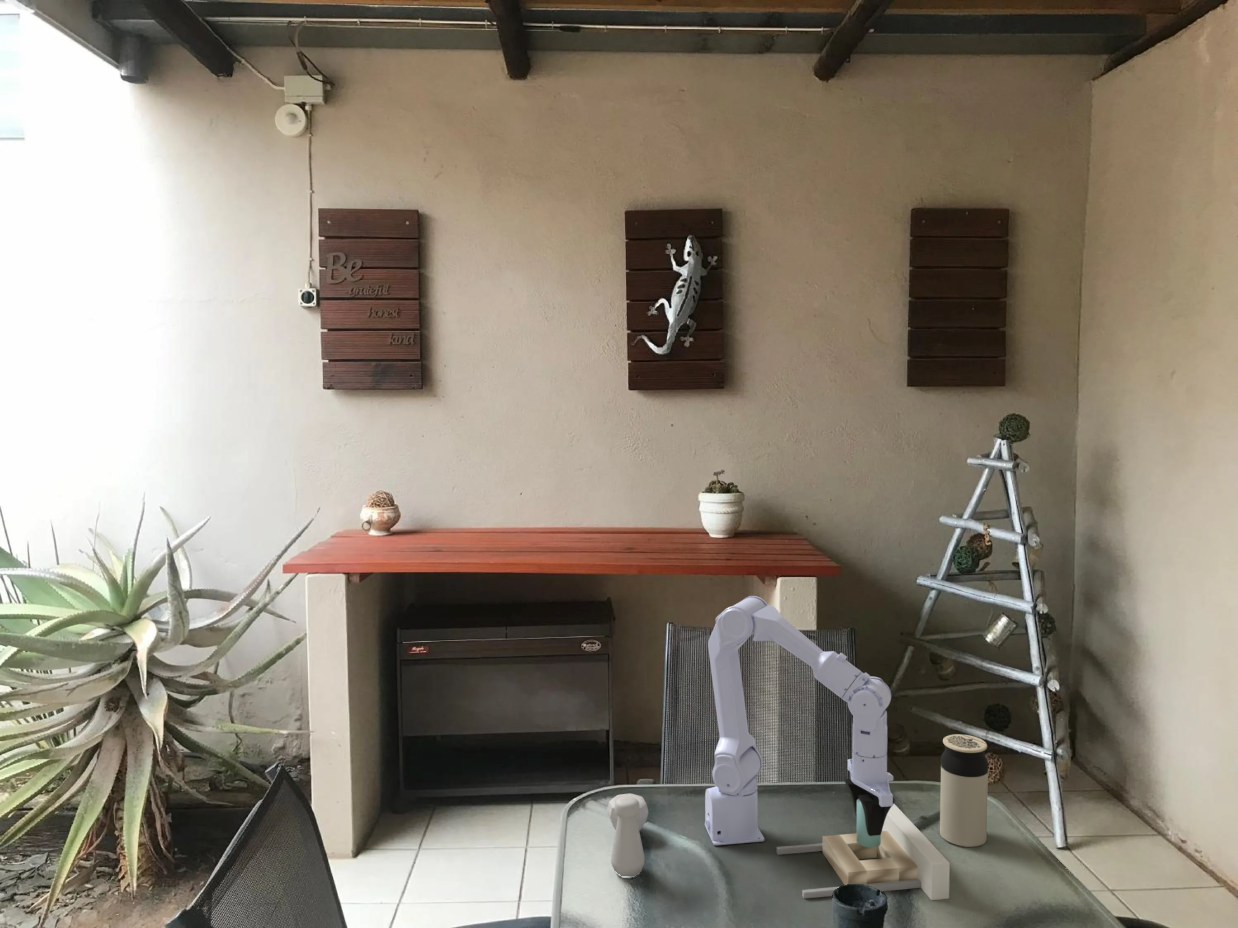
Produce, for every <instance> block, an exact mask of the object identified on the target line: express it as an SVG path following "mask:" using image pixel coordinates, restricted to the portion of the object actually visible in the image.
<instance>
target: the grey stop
mask: <svg viewBox="0 0 1238 928" xmlns="http://www.w3.org/2000/svg"><path fill="white" fill-rule="evenodd" d="M882 831H888V832H889V834H890V835H891V836H892V837H893V838H894V839H895V841H896V842H897V843H898V844H899V845H900V846H901V848H902V849H903V850H904V851H905V852H906V853H907V855H908V856H909V857H910V858H911V859H912V860H913V861H914V863H915V864H916V865H917V866H918V867H917V879H916V880H905V881H894V882H883V883H873V884H864V885H869V886H872V887H875V888H877V889H879V890H880V892H888V891H898V890H899V891H901V890H908V889H909V890H910V889H918V888H919V889H921V890H922V891H923V893H925V895H926V896H927V897H928V898H929V899H930V900H931V901H937V900H939V901H940V900H947V899H948V900H949V899H950V866H951V863H950V862H949V861H948V859H946V857H945V856H944V855H943V854H942V853H941V852H940V851H939V850H938V849H937V848H936V847H935V846H934V844H933V843H931V842H930V840H929V839H928V838H927V837H926V836H925V835H924V834H923V833H922V832H921V831H920V830H919V828H917V826H915V824H914V823H913V822H912V821H911V820H910V819H909V817H907V816H906V815H905V813H903V812H902V810H901V809H899V807H898V806H897V805H896V804H895V803H894V804H893V806H892V807H891V808H890V810H889V812H888V813H887V816H886V818H885V822H884V825H883V829H882ZM811 852H812V853H814V852H822V842H819V843H809V844H797V845H784V846H783V845H782V846H776V854H777V855H778V856H780V855H789V854H791V855H792V854H802V853H811ZM839 887H840V886H833V887H831V886H829V887H822V888H821V887H819V888H808V889H801V892H802V893H801V894H802V895H801V896H802V898H803V899H805V900H806V899H814V898H815V899H816V898H824V897H833V896H832V893H833V891H834V890H835V889H837V888H839Z"/></svg>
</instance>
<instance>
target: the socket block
mask: <svg viewBox="0 0 1238 928" xmlns="http://www.w3.org/2000/svg"><path fill="white" fill-rule="evenodd" d="M856 835H857V832H854V833H845V834H834V835H822V842H821V843H822V851H821V853H822V854H823V855H824V857H825V858H826V859H827V861H828V863H829V865H830V866H831V867H832V868H833V870H834V871H835V873H836V874H837V876H838V877H839V879H840V880H841V882H842V884H844V885H843V886H845V885H847V884H873V883H883V882H894V881H905V880H916V879H917V867H918V866H917V865H916V864H915V863H914V861H913V860H912V859H911V858H910V857H909V856H908V855H907V853H906V852H905V851H904V850H903V849H902V848H901V846H900V845H899V844H898V843H897V842H896V841H895V839H894V838H893V837H892V836H891V835H890V834H889V832H888V831H882V832H881V844H880V845H879V846H877V847H864V846H862V845H860V844H858V843H857V840H856Z"/></svg>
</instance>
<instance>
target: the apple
mask: <svg viewBox="0 0 1238 928" xmlns="http://www.w3.org/2000/svg"><path fill="white" fill-rule="evenodd" d="M627 796H628V797H633V798H636V799H637V800H638V801H639V805H640V810H639V814H638V815H637V816H636V817H637V823H638V828H639V832H640V831H641V830H642V829H643V827H644V826H645V824H646V821H647V819H648V816H649V809H648V805H647V802H646V800H645V799H644V797H643V796H641V795H638V794H634V793H624V794H623V793H621V794H616V796H614V797H613V798H612V799H611V800H609V801H608V805H607V807H606V810H607V813H608V816H609V819H610V823H611V824H612V827H613V828H614V830H615V831H616V826H617V820H618V816H617V815H616V813H615V802H616V801H617V800H618V799H619V798H621V797H627Z"/></svg>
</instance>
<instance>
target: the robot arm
mask: <svg viewBox="0 0 1238 928" xmlns="http://www.w3.org/2000/svg"><path fill="white" fill-rule="evenodd" d="M752 635H753V637H752V641H753V642H769V641H770V642H775V643H776V644H777V645H779V646H781V647H782V648H783V649H785V650H786V651H788V652H790V654H792V655H794V656H795V657H796V658H798V659H799V660H800V661H802V662H804V664H807V665H808V666H810V667H811V670H812V673H813V677H814V679H815V680H817V681H818V683H819V682H820V683H821V684H823V686H824V687H826V688H827V689H828V690H830V691H831V692H832V693H834V694H835V695H836V696H838V697H839V698H840V699H841V700H843V701H844V702H846V703H847V707H848V710H849V712H850V713H851V715H852V729H851V733H852V734H851V735H852V736H851V737H852V739H851V740H852V742H851V743H852V745H851V749H852V751H851V758H849V759H847V770H848V771H849V772H850V773H849V774H850V778H845V780H844V783H845V785H846V786H847V789H848V791H849V794H850V798H851V799H852V800H851V801H852V804H853V809H854V814H855V818H856V819H857V799H860V801H861V804H862V806H863V810H864V814H865V821H866V829H867V833H868V835H869V836H876V835H881V832H882V829H883V825H884V822H885V818H886V816H887V813H888V812H889V810H890V808H891V807H892V806H893V804H895V798H894V795H893V793H892V792H891V788H890V784H889V783H890V782H893V781H894V775H892V774H891V773H890V772H888V712H887V711H888V710H886V709H887V708H888V707H889V705H890V703H891V700H892V692H891V689H890V687H889V686H888V684H887V683H886V682H884V680H883V679H882V678H881V677H877V676H871V675H870V674H869V673H867V672H866V671H865V672H862V671H861V670H860V669H859V668H857V667H856V666H855V665H853V663H850V662H849V661H848V660H847V658H848V656H847V655H845V654H844V653H843V652H840V653H839V654H838V653H837V652H836V651H833V650H832V651H830V650H829V651H823V650H822V648H820V647H819V646H818V645H817V644H815V642H813V641H812V640H810V639H809V638H808V637H807V636H806V635H804V633H802V632H801V631H800V630H799V629H797V627H795V626H794V625H793V624H792V623H790V622H789V621H788V620H787V619H786V618H785V617H783V615H782V614H781V613H780V612H779V610H778V609H777V607H775V606H774V605H772V604H768V602H767V601H766V600H764V599H763V598H762V597H760V596H756V595H749V596H747V597H744V599H742V600H740V601H739V602H737V603H736V604H735V603H734V604H733V605H732V606H729V607H727V608H725V609H724V610H723V611H722V612H721V613H719V614H718V615H717V616H716V617H715V624H714V627H713V629H712V631H711V634H710V636H709V639H708V642H707V644H708V645H707V647H708V648H707V649H708V654H709V655H708V656H709V662H710V671H711V680H712V687H713V695H714V696H713V697H714V704H715V711H716V719H717V727H718V733H719V734H718V736H719V738H718V742H717V744H716V748H715V751H714V765H713V768H712V771H711V773H712V774H711V775H712V781H713V782H714V785H715V786H714V787H709V788H706V789H705V795H704V806H705V807H704V810H705V811H704V814H705V816H704V820H705V821H704V827H705V829H706V832H707V833H708V835H709V837H710V841H711V842H712V844H713V845H714V846H722V845H723V846H725V845H735V844H746V843H747V844H748V843H759V842H764V841H765V837H764V835H763V834H762V832H761V830H760V828H759V827H758V782H757V775H758V774H759V773H760V772H761V771H762V768H763V764H764V763H763V757H762V755H761V753H760V751H759V750H758V748H757V743H756V739H755V737H754V736H753V735H751V734H750V733H749V725H748V719H747V709H746V702H745V694H744V686H743V678H742V671H741V662H740V654H739V653H740V652H739V649H740V648H741V647H742V646H743V644H745V642H746V641H747V640H748V639H749V638H750V637H751V636H752Z"/></svg>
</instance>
